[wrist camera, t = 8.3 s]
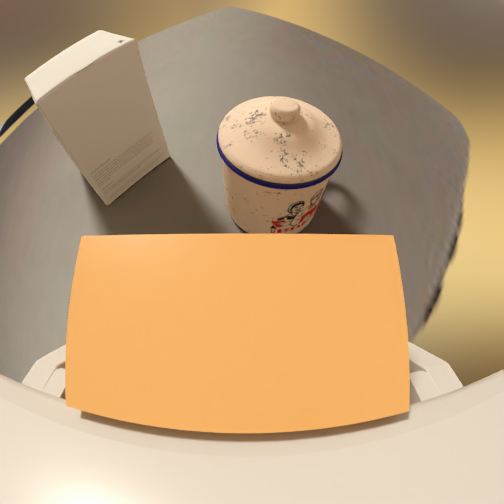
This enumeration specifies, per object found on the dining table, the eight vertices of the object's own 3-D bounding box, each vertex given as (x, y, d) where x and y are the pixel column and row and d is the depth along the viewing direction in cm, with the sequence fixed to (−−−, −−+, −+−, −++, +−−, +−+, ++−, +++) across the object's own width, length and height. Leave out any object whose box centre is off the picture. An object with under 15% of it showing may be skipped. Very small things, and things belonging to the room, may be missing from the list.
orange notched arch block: (291, 324, 16) (393, 235, 4) (292, 375, 14) (408, 410, 3) (195, 324, 15) (81, 236, 4) (194, 375, 14) (66, 406, 3)
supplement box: (134, 124, 31) (101, 27, 17) (172, 156, 28) (140, 36, 14) (77, 167, 28) (22, 77, 14) (106, 209, 26) (33, 102, 12)
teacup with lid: (278, 263, 24) (304, 182, 13) (203, 203, 26) (183, 107, 15) (348, 182, 28) (389, 98, 17) (281, 138, 30) (294, 50, 19)
